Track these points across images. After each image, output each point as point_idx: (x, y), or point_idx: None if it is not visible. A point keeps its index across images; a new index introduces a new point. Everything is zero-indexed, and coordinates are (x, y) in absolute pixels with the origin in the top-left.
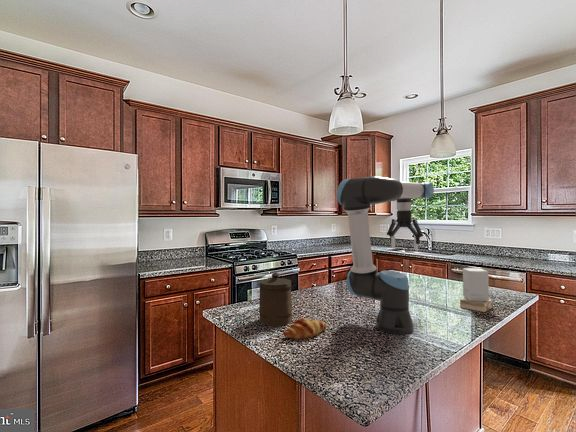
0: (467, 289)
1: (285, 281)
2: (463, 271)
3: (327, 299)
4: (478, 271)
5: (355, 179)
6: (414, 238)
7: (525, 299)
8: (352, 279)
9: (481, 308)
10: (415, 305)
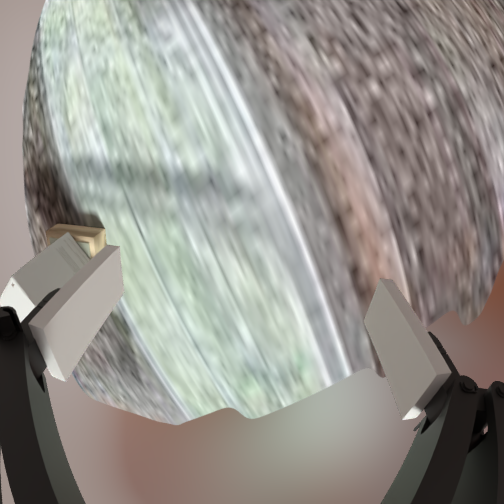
0: (61, 257)
1: None
2: None
3: (461, 56)
4: (5, 289)
5: None
6: (44, 322)
7: None
8: None
9: (58, 226)
10: (204, 149)
